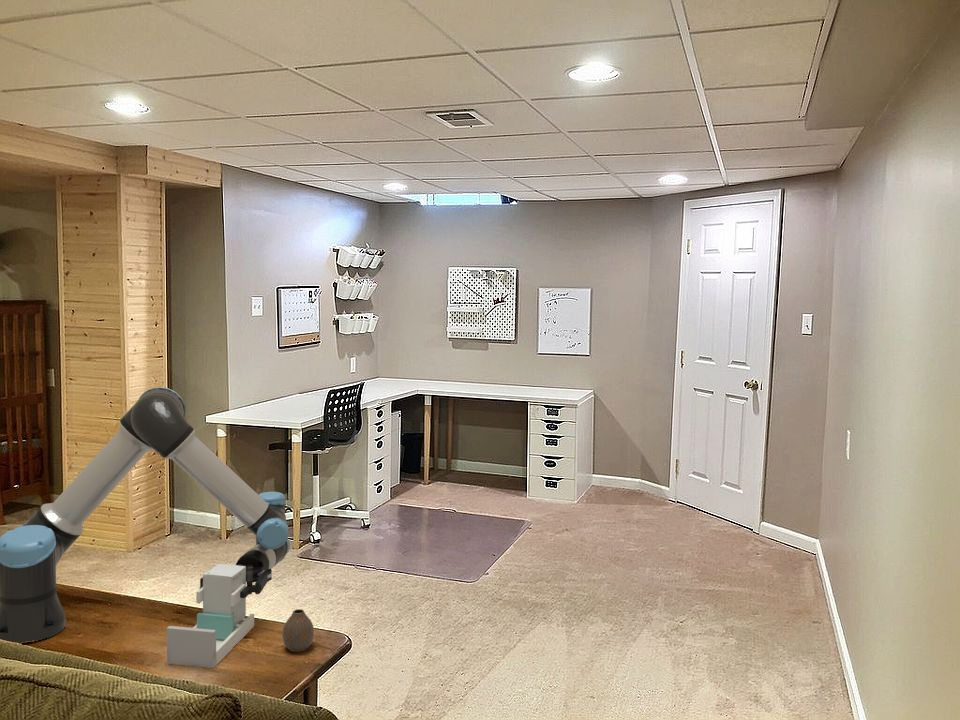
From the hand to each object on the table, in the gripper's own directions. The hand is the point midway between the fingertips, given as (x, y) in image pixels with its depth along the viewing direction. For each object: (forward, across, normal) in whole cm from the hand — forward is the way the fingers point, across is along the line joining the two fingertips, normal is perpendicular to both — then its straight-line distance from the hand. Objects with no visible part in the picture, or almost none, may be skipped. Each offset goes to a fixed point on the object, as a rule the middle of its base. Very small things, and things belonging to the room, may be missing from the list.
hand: (215, 599), depth 180 cm
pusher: (-1, 0, -10) cm, 10 cm away
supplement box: (-5, 0, -8) cm, 9 cm away
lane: (+1, 0, -10) cm, 10 cm away
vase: (-1, -19, -11) cm, 22 cm away
